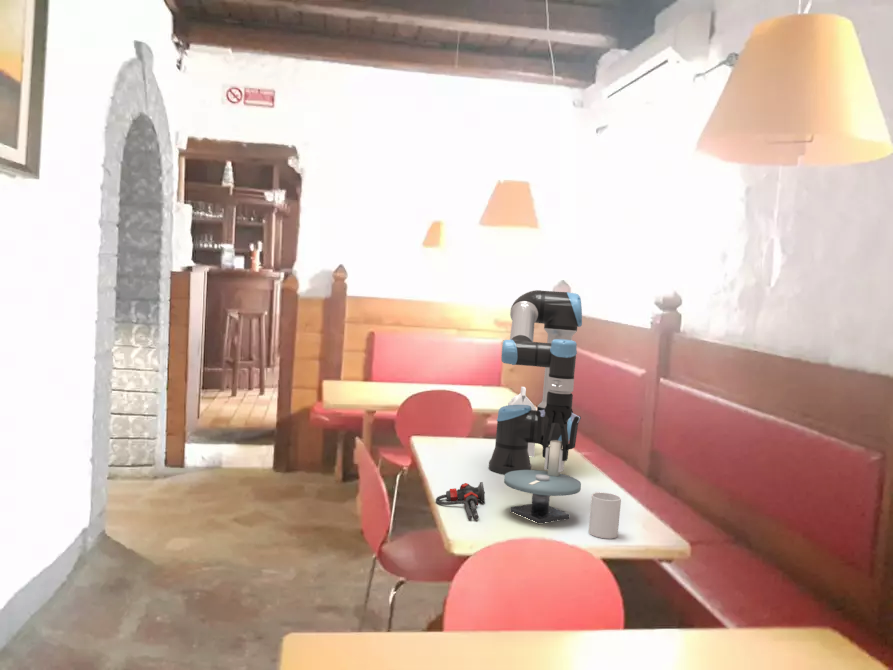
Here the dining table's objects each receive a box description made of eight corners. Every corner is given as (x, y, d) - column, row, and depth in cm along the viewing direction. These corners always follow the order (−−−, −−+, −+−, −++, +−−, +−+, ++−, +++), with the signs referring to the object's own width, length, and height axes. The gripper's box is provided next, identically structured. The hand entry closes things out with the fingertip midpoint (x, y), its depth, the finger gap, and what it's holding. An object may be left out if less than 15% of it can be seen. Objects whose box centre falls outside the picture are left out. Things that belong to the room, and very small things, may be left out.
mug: (622, 539, 208) (625, 501, 207) (593, 538, 207) (597, 500, 206) (606, 524, 220) (609, 488, 219) (579, 524, 219) (582, 487, 218)
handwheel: (562, 500, 209) (566, 458, 208) (490, 484, 220) (493, 444, 219) (591, 485, 227) (595, 446, 227) (524, 471, 239) (527, 434, 238)
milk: (534, 457, 301) (539, 390, 300) (504, 454, 302) (510, 388, 300) (531, 450, 313) (536, 386, 312) (502, 448, 314) (508, 384, 312)
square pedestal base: (510, 512, 225) (512, 482, 225) (540, 507, 233) (542, 478, 232) (538, 524, 216) (541, 493, 215) (568, 518, 223) (571, 488, 222)
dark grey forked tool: (434, 500, 240) (482, 495, 241) (439, 531, 214) (493, 526, 215) (433, 480, 239) (481, 475, 240) (438, 509, 213) (492, 504, 214)
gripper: (529, 389, 229) (523, 467, 231) (583, 396, 221) (576, 477, 223) (538, 387, 236) (532, 463, 237) (591, 394, 228) (584, 472, 230)
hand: (553, 469), depth 230 cm, fingers closed on handwheel, 4 cm apart
